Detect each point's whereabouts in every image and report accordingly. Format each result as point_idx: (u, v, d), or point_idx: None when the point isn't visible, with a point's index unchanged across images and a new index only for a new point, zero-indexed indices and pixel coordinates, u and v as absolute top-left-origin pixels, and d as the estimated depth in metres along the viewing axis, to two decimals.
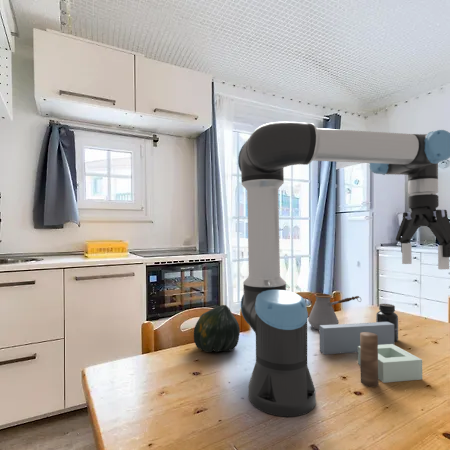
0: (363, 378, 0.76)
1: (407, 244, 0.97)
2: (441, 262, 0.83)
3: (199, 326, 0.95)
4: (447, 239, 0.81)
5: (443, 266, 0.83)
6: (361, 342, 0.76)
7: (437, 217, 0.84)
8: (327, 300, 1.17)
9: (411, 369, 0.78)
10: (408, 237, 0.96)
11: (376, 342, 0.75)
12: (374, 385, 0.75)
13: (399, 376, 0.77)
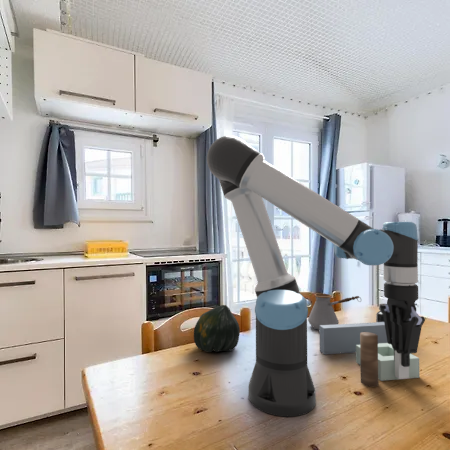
0: (363, 378, 0.76)
1: None
2: (400, 371, 0.76)
3: (199, 326, 0.95)
4: (406, 349, 0.73)
5: (402, 375, 0.76)
6: (361, 342, 0.76)
7: (410, 323, 0.72)
8: (327, 300, 1.17)
9: None
10: (399, 338, 0.77)
11: (376, 342, 0.75)
12: (374, 385, 0.75)
13: None
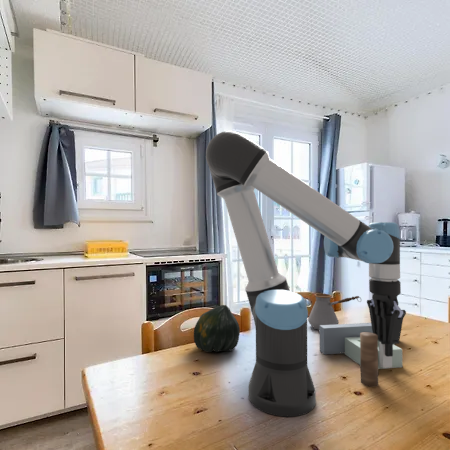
0: (363, 378, 0.76)
1: None
2: (383, 360, 0.82)
3: (199, 326, 0.95)
4: (389, 340, 0.79)
5: (386, 364, 0.82)
6: (361, 342, 0.76)
7: (392, 316, 0.78)
8: (327, 300, 1.17)
9: (392, 358, 0.85)
10: (383, 331, 0.83)
11: (376, 342, 0.75)
12: (374, 385, 0.75)
13: None
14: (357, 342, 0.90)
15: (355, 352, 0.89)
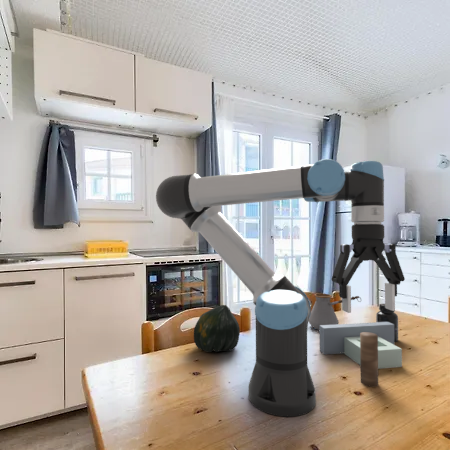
0: (363, 378, 0.76)
1: (388, 285, 0.78)
2: (342, 302, 0.77)
3: (199, 326, 0.95)
4: None
5: (344, 307, 0.76)
6: (361, 342, 0.76)
7: None
8: (327, 300, 1.17)
9: (391, 357, 0.85)
10: (386, 275, 0.78)
11: (376, 342, 0.75)
12: (374, 385, 0.75)
13: (380, 364, 0.84)
14: (357, 342, 0.90)
15: (355, 352, 0.89)
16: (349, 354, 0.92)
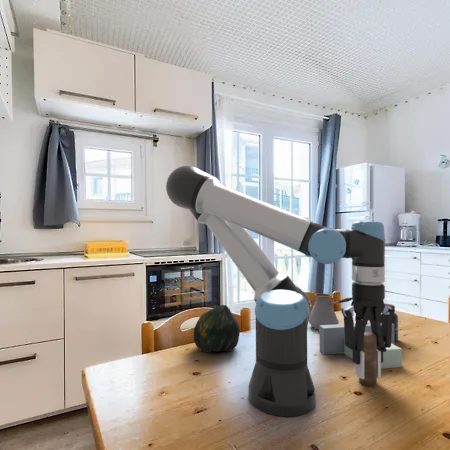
0: None
1: None
2: (355, 366, 0.77)
3: (199, 326, 0.95)
4: None
5: (357, 372, 0.77)
6: None
7: None
8: (327, 300, 1.17)
9: (391, 357, 0.85)
10: None
11: (374, 341, 0.75)
12: (372, 385, 0.75)
13: None
14: None
15: None
16: (349, 354, 0.92)
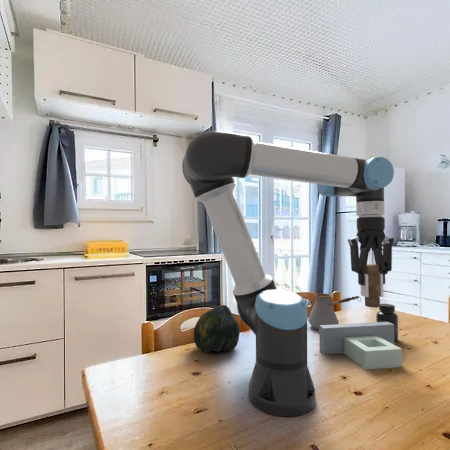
0: (367, 301, 0.89)
1: None
2: (361, 288, 0.91)
3: (199, 326, 0.95)
4: None
5: (362, 293, 0.90)
6: None
7: None
8: (327, 300, 1.17)
9: (391, 357, 0.85)
10: (378, 264, 0.90)
11: (377, 269, 0.88)
12: (376, 306, 0.88)
13: (380, 364, 0.84)
14: (357, 342, 0.90)
15: (355, 352, 0.89)
16: (349, 354, 0.92)
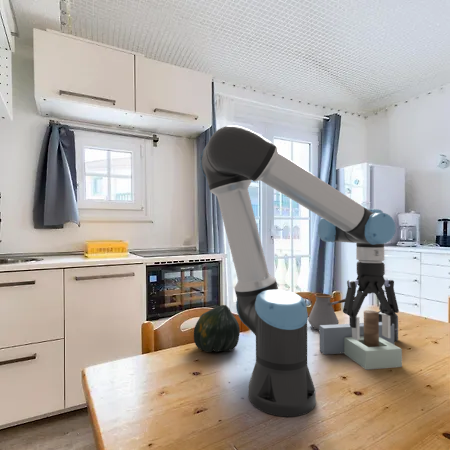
0: None
1: (384, 315, 0.91)
2: (352, 330, 0.90)
3: (199, 326, 0.95)
4: None
5: (353, 335, 0.90)
6: (364, 318, 0.90)
7: None
8: (327, 300, 1.17)
9: (391, 357, 0.85)
10: (384, 307, 0.91)
11: (377, 318, 0.88)
12: None
13: (380, 364, 0.84)
14: (357, 342, 0.90)
15: (355, 352, 0.89)
16: (349, 354, 0.92)
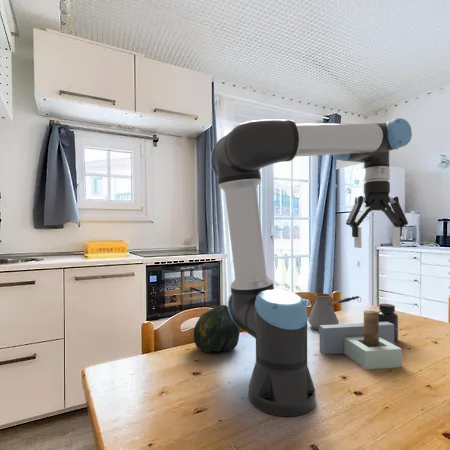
0: None
1: (395, 228, 0.99)
2: (354, 241, 0.98)
3: (199, 326, 0.95)
4: None
5: (355, 245, 0.98)
6: (364, 318, 0.90)
7: None
8: (327, 300, 1.17)
9: (391, 357, 0.85)
10: (393, 221, 0.99)
11: (377, 318, 0.88)
12: None
13: (380, 364, 0.84)
14: (357, 342, 0.90)
15: (355, 352, 0.89)
16: (349, 354, 0.92)
